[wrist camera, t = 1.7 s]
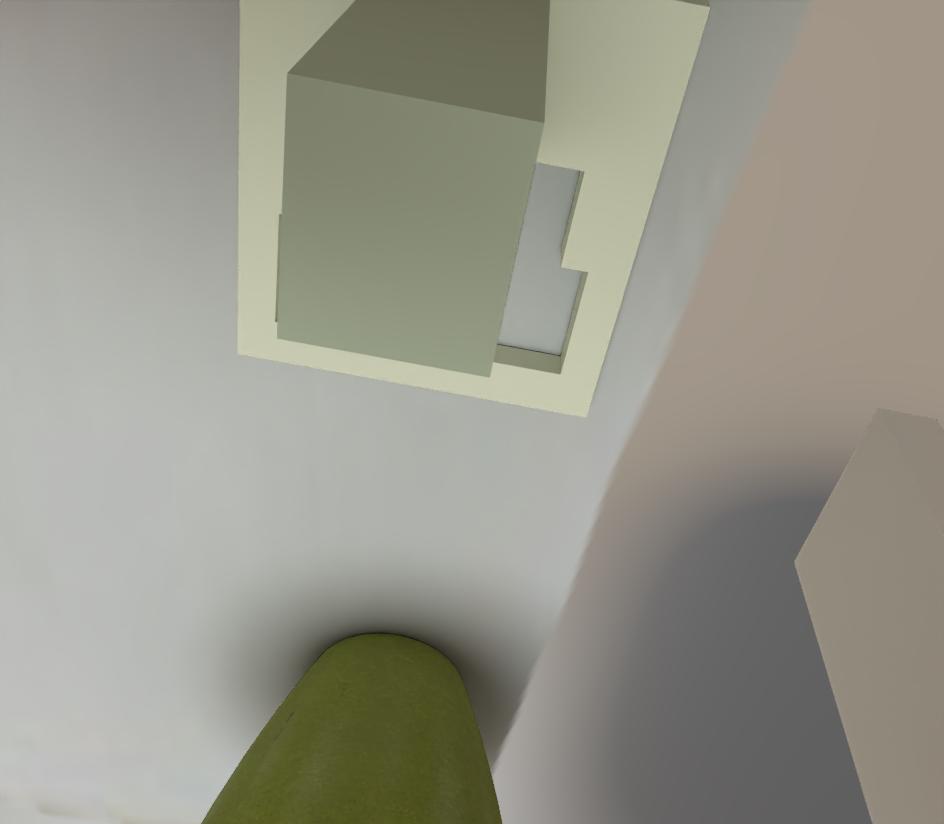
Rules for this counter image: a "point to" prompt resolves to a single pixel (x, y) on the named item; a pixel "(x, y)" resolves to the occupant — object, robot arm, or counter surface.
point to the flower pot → (367, 745)
